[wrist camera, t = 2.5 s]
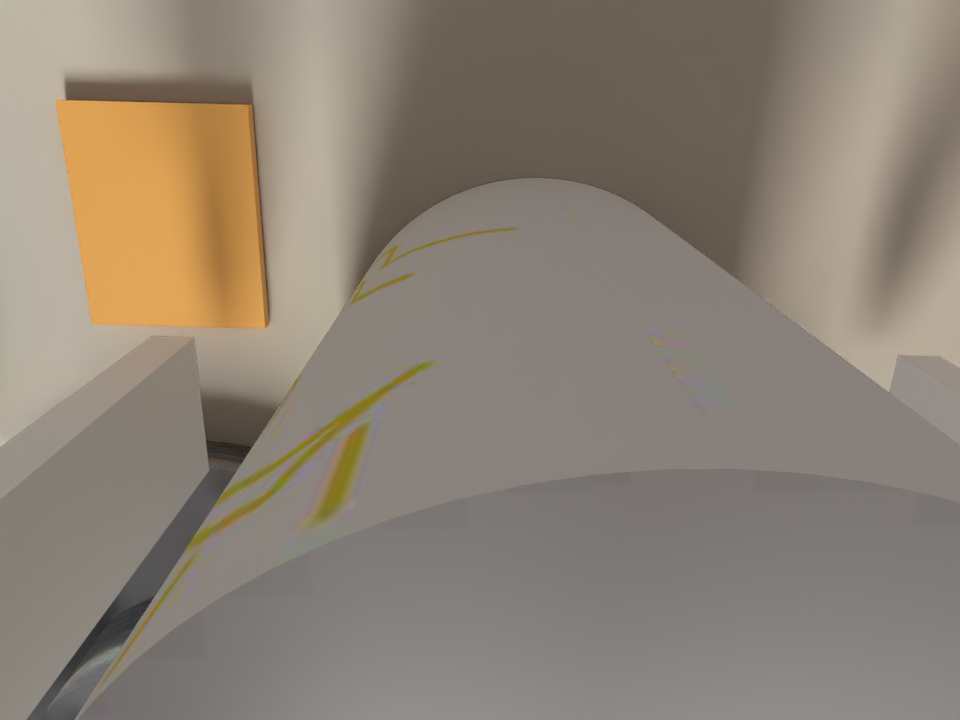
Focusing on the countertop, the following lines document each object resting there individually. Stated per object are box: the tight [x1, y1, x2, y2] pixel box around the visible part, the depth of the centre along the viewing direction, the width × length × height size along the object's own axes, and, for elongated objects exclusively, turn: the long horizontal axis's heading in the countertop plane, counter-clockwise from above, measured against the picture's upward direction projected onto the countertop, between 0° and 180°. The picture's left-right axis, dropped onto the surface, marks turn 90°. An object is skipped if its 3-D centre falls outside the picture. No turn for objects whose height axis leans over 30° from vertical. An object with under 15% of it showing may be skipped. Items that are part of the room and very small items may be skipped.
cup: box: [74, 178, 960, 720], centre depth 10 cm, size 8×8×12 cm
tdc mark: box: [56, 100, 269, 328], centre depth 15 cm, size 4×4×1 cm
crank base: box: [27, 442, 252, 720], centre depth 18 cm, size 11×11×1 cm
